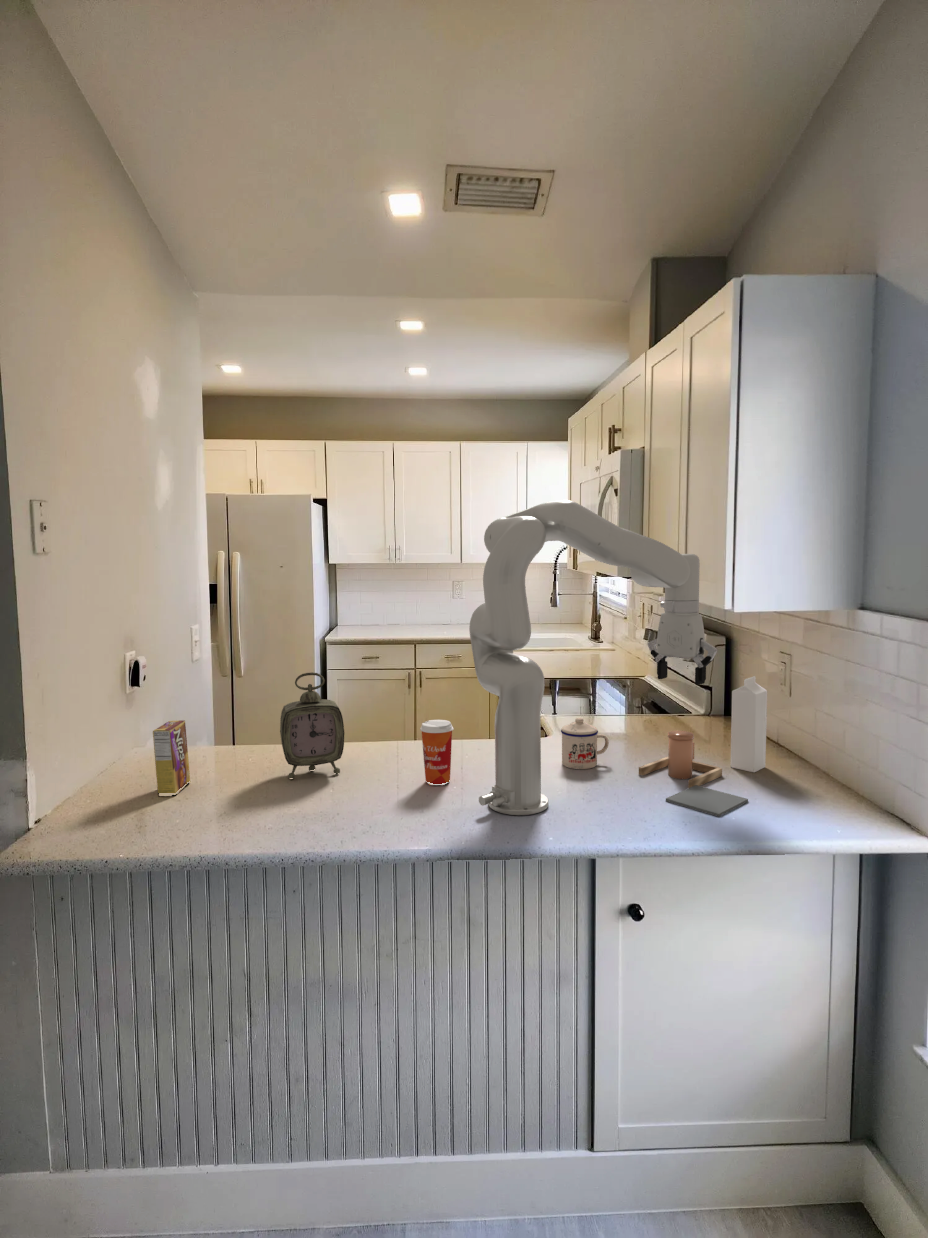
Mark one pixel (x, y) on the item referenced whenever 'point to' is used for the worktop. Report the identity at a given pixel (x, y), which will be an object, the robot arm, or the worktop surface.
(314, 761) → the tabletop clock
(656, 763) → the bent wooden rod
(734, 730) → the milk
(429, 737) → the paper cup
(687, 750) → the jug
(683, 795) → the mat
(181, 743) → the candy box
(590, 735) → the teacup with lid
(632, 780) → the worktop surface
